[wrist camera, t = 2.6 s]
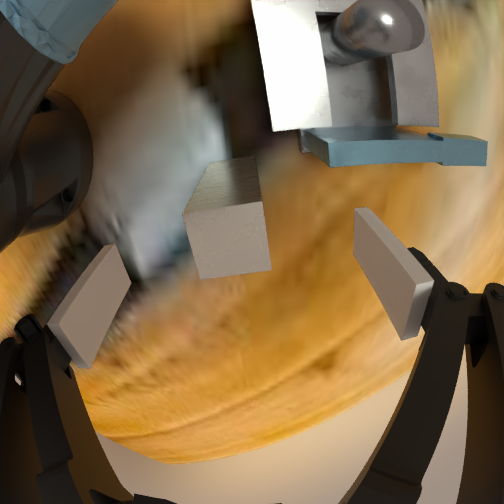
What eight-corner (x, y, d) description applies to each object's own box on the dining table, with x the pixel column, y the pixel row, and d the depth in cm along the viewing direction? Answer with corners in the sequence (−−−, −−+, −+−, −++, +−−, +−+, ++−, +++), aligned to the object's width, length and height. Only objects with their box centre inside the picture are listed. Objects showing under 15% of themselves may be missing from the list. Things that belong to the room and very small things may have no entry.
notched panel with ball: (271, 153, 24) (290, 191, 14) (243, -14, 15) (242, -78, 6) (427, 144, 23) (502, 177, 13) (408, -3, 14) (477, -29, 5)
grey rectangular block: (218, 203, 26) (200, 279, 16) (210, 162, 24) (181, 214, 14) (260, 197, 26) (271, 270, 15) (254, 155, 24) (262, 201, 13)
